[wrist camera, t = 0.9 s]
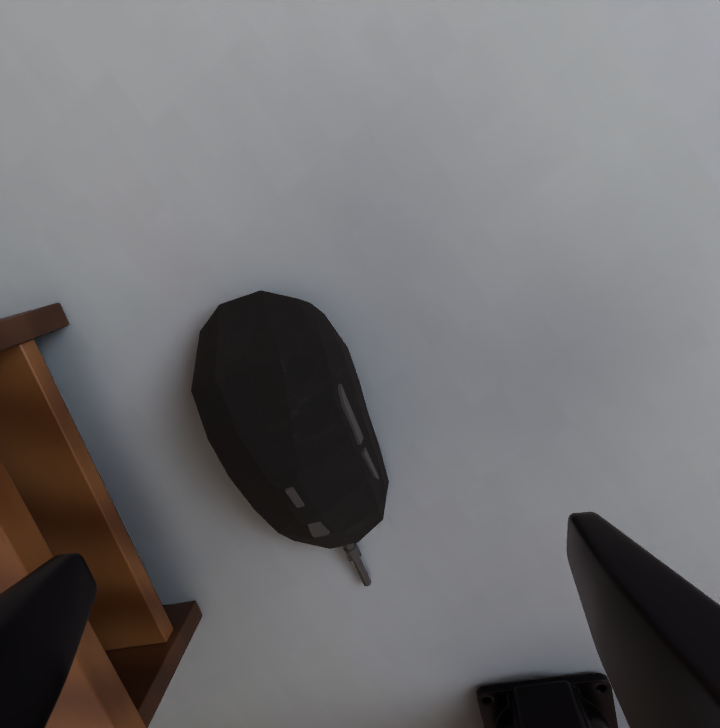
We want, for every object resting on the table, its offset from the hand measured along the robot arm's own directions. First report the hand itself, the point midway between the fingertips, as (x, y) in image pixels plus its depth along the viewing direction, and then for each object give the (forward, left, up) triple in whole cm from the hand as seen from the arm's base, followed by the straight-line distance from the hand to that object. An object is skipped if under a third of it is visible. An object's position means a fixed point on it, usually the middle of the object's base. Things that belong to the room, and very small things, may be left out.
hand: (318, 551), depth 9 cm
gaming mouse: (-4, +4, -12) cm, 13 cm away
